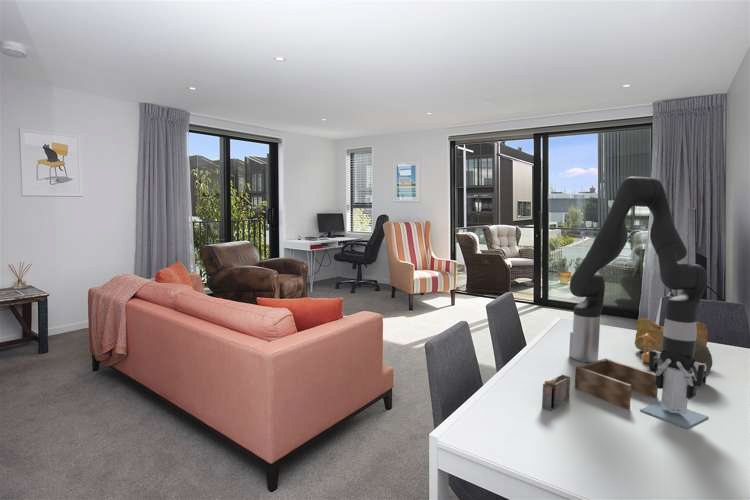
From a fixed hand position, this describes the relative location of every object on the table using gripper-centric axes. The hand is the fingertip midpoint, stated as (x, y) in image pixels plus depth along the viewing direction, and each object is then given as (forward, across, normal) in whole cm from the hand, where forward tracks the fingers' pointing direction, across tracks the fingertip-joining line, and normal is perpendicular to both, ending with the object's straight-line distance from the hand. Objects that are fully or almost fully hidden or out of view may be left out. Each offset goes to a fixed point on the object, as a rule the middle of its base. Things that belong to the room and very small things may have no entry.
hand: (674, 392), depth 125 cm
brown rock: (+7, -11, +30) cm, 33 cm away
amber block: (+7, -27, +54) cm, 61 cm away
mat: (+6, 0, 0) cm, 6 cm away
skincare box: (+5, 0, 0) cm, 5 cm away
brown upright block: (+7, -21, -23) cm, 32 cm away
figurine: (+7, -26, +35) cm, 44 cm away
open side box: (+6, -17, 0) cm, 18 cm away
